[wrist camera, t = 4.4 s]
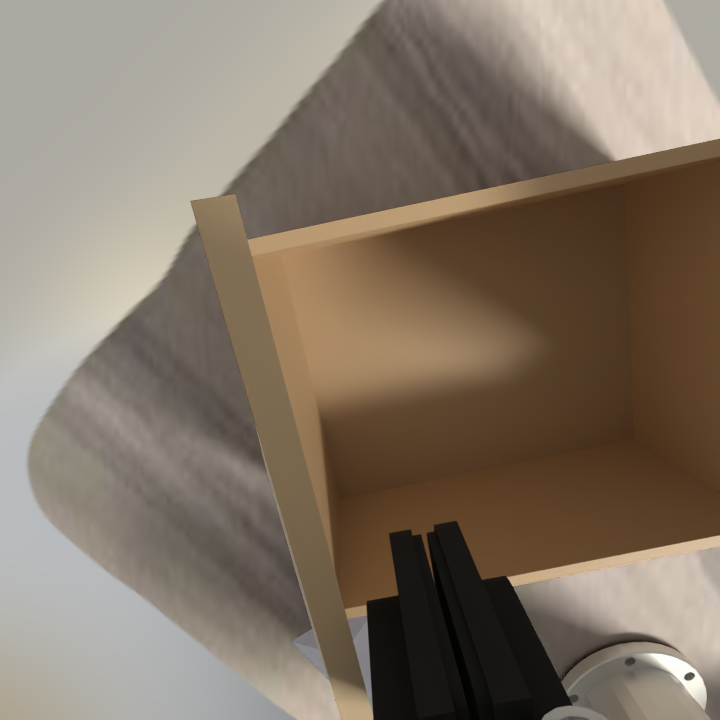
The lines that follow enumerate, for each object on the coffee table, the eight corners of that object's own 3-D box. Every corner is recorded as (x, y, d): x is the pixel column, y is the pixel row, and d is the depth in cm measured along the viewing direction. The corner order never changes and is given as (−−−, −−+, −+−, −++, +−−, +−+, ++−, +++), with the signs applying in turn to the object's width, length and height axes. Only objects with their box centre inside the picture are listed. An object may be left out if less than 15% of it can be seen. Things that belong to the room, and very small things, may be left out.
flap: (434, 948, 10) (408, 967, 10) (328, 619, 20) (314, 625, 20) (235, 194, 6) (182, 202, 5) (225, 250, 15) (206, 253, 15)
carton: (636, 441, 29) (781, 533, 19) (334, 502, 30) (329, 622, 20) (626, 173, 25) (808, 119, 15) (271, 249, 25) (224, 244, 15)
